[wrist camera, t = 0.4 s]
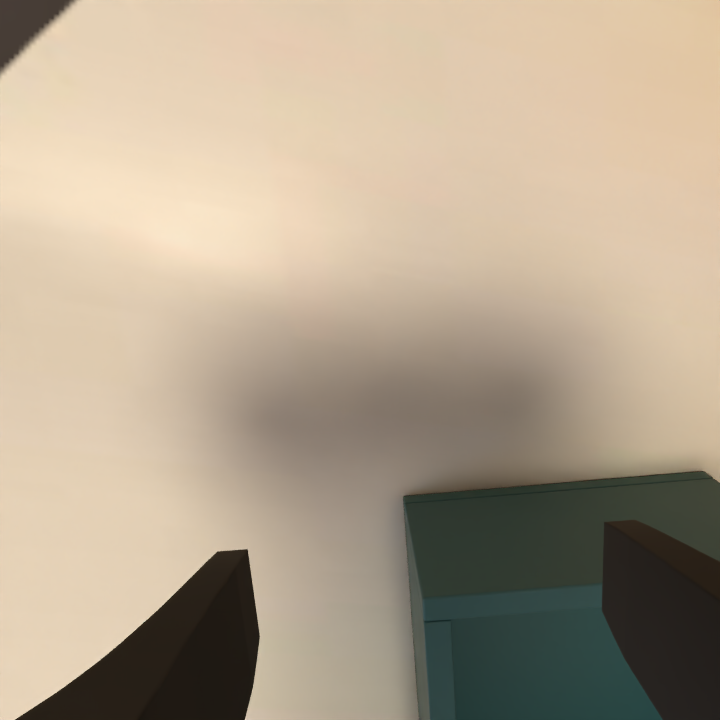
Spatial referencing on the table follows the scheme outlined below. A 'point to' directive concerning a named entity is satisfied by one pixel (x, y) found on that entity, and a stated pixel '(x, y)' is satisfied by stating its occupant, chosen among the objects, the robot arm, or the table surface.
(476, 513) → the dark green open box
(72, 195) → the table surface
